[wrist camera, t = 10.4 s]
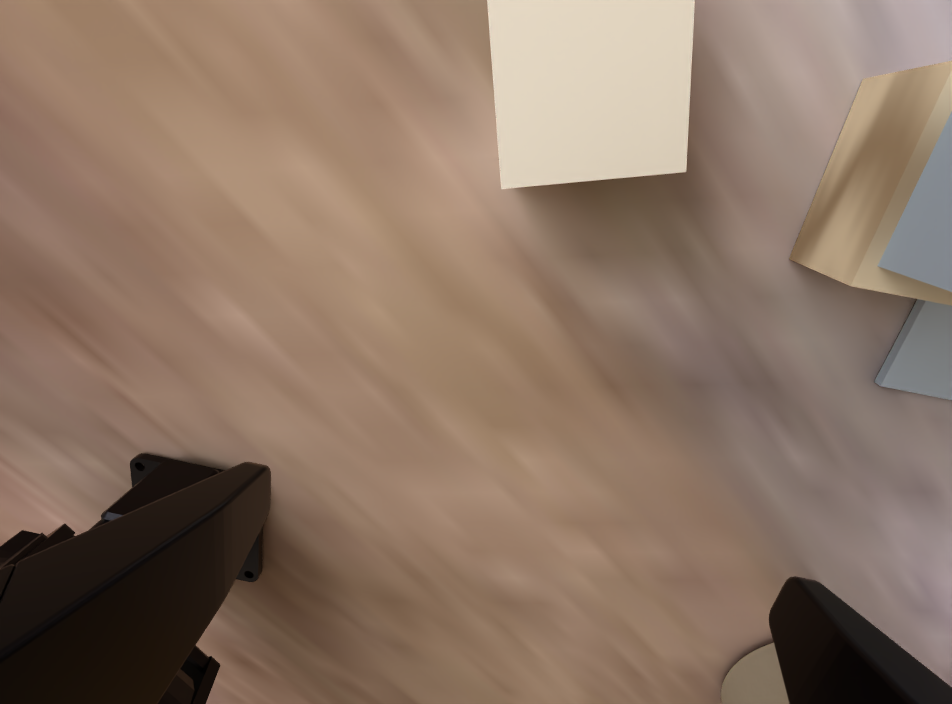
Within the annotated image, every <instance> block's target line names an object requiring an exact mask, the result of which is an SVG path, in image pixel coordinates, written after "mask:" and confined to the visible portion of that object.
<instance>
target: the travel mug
mask: <svg viewBox="0 0 952 704" xmlns="http://www.w3.org/2000/svg"><path fill="white" fill-rule="evenodd" d="M721 702H722V704H789V701H788V697H787V693H786V689H785V685H784V681H783V677H782V673H781V669H780V665H779V661H778V657H777V653H776V649H775V645H774V643H771V644H769V645H766V646H763V647H761V648H759V649H757V650H755V651H753V652H751V653H749V654H748V655H746V656H745V657H743V658H742V659H741V660H740V661H738V662H737V663H736V664H735V665H734V666H733V667H732V669H731V670H730V671H729V672H728V674H727V675H726V677H725V679H724V681H723V684H722V689H721Z"/></svg>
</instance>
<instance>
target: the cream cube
mask: <svg viewBox="0 0 952 704" xmlns="http://www.w3.org/2000/svg"><path fill="white" fill-rule="evenodd" d="M487 3H488V17H489V30H490V44H491V57H492V71H493V84H494V98H495V111H496V125H497V138H498V152H499V165H500V179H501V189H507V188H518V187H529V186H540V185H551V184H562V183H572V182H583V181H594V180H605V179H616V178H627V177H638V176H648V175H659V174H670V173H681V172H686V166H687V146H688V126H689V105H690V85H691V65H692V45H693V25H694V5H695V0H487Z"/></svg>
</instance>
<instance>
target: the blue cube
mask: <svg viewBox="0 0 952 704" xmlns="http://www.w3.org/2000/svg"><path fill="white" fill-rule="evenodd" d="M878 267H881V268H884V269H887V270H890V271H893V272H896V273H899V274H901V275H904V276H907V277H910V278H913V279H916V280H919V281H922V282H925V283H927V284H930V285H933V286H936V287H939V288H942V289H945V290H948V291H950V292H952V112H951V114H950V116H949V118H948V120H947V122H946V124H945V126H944V128H943V130H942V132H941V135H940V137H939V139H938V141H937V143H936V145H935V147H934V149H933V151H932V153H931V155H930V157H929V160H928V162H927V164H926V166H925V168H924V170H923V172H922V174H921V176H920V178H919V180H918V182H917V185H916V187H915V189H914V191H913V193H912V195H911V197H910V199H909V201H908V203H907V205H906V208H905V210H904V212H903V214H902V216H901V218H900V220H899V222H898V224H897V226H896V228H895V230H894V233H893V235H892V237H891V239H890V241H889V243H888V245H887V247H886V249H885V251H884V253H883V255H882V258H881V260H880V262H879V264H878Z"/></svg>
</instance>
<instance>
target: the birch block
mask: <svg viewBox="0 0 952 704" xmlns="http://www.w3.org/2000/svg"><path fill="white" fill-rule="evenodd" d="M951 112H952V61H948V62H943V63H939V64H934V65H929V66H924V67H919V68H914V69H909V70H904V71H899V72H894V73H890V74H885V75H880V76H875V77H870V78H865V79H863V80H862V83H861V85H860V88H859V90H858V92H857V95H856V97H855V100H854V102H853V105H852V107H851V109H850V112H849V114H848V117H847V119H846V122H845V124H844V126H843V129H842V131H841V134H840V136H839V139H838V141H837V143H836V146H835V148H834V151H833V153H832V156H831V158H830V160H829V163H828V165H827V168H826V170H825V173H824V175H823V177H822V180H821V182H820V185H819V187H818V190H817V192H816V194H815V197H814V199H813V202H812V204H811V207H810V209H809V212H808V214H807V216H806V219H805V221H804V224H803V226H802V229H801V231H800V233H799V236H798V238H797V241H796V243H795V246H794V248H793V250H792V253H791V255H790V258H789V259H790V260H792V261H794V262H797V263H799V264H801V265H804V266H806V267H808V268H810V269H813V270H815V271H817V272H819V273H822V274H824V275H826V276H829V277H831V278H833V279H835V280H838V281H840V282H842V283H844V284H847V285H849V286H852V287H857V288H863V289H868V290H873V291H878V292H883V293H889V294H894V295H899V296H904V297H909V298H915V299H920V300H925V301H930V302H935V303H940V304H946V305H951V306H952V292H950V291H948V290H945V289H942V288H939V287H936V286H933V285H930V284H927V283H925V282H922V281H919V280H916V279H913V278H910V277H907V276H904V275H901V274H899V273H896V272H893V271H890V270H887V269H884V268H881V267H878V264H879V262H880V260H881V258H882V255H883V253H884V251H885V249H886V247H887V245H888V243H889V241H890V239H891V237H892V235H893V233H894V230H895V228H896V226H897V224H898V222H899V220H900V218H901V216H902V214H903V212H904V210H905V208H906V205H907V203H908V201H909V199H910V197H911V195H912V193H913V191H914V189H915V187H916V185H917V182H918V180H919V178H920V176H921V174H922V172H923V170H924V168H925V166H926V164H927V162H928V160H929V157H930V155H931V153H932V151H933V149H934V147H935V145H936V143H937V141H938V139H939V137H940V135H941V132H942V130H943V128H944V126H945V124H946V122H947V120H948V118H949V116H950V114H951Z"/></svg>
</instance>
